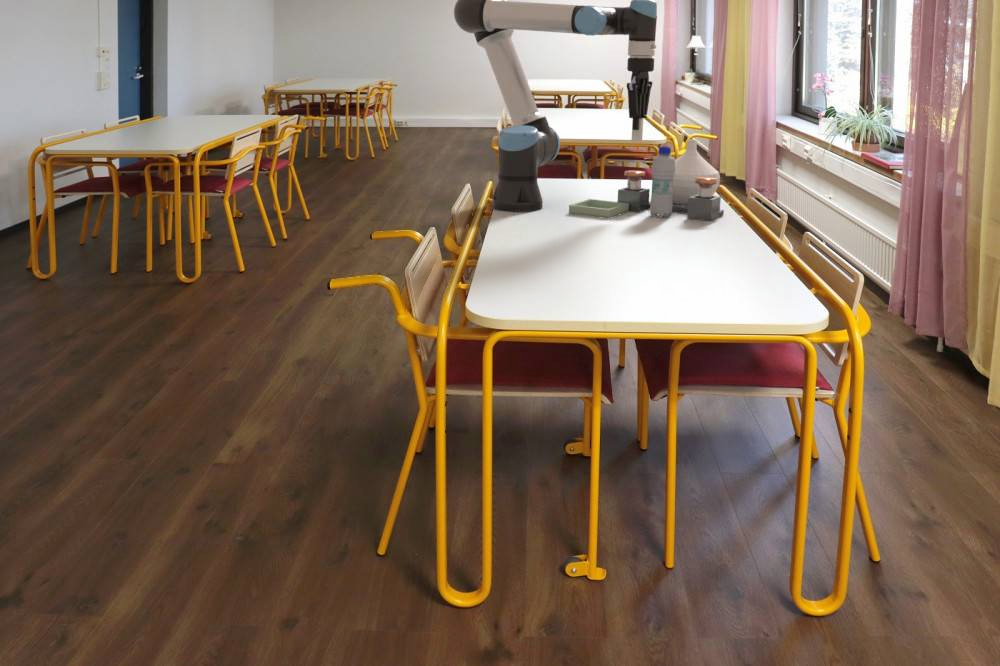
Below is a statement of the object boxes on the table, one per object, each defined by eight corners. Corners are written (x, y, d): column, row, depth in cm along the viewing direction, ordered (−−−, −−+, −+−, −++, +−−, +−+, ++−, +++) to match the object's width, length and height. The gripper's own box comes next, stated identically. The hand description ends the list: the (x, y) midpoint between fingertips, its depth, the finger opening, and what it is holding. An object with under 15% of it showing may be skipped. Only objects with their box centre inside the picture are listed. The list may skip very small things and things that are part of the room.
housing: (617, 210, 289) (618, 189, 287) (631, 204, 297) (633, 185, 295) (710, 221, 274) (712, 199, 272) (723, 215, 283) (725, 194, 281)
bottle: (671, 219, 276) (676, 148, 270) (648, 217, 278) (652, 147, 272) (672, 214, 283) (677, 145, 277) (649, 213, 284) (653, 144, 278)
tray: (568, 213, 282) (569, 205, 281) (589, 207, 293) (589, 198, 292) (609, 218, 276) (609, 209, 275) (628, 211, 286) (629, 203, 285)
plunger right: (690, 207, 277) (692, 179, 274) (697, 204, 282) (699, 176, 279) (710, 210, 274) (712, 181, 271) (717, 206, 279) (720, 178, 276)
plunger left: (619, 199, 288) (621, 172, 285) (628, 197, 293) (629, 169, 290) (638, 202, 285) (640, 173, 282) (646, 199, 290) (648, 171, 287)
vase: (651, 197, 310) (655, 136, 304) (707, 197, 312) (711, 136, 306) (666, 208, 293) (671, 144, 287) (725, 207, 294) (731, 143, 289)
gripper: (643, 57, 269) (639, 144, 276) (662, 56, 280) (657, 139, 287) (619, 57, 273) (615, 142, 280) (638, 56, 284) (634, 138, 291)
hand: (636, 141), depth 284 cm, fingers closed
